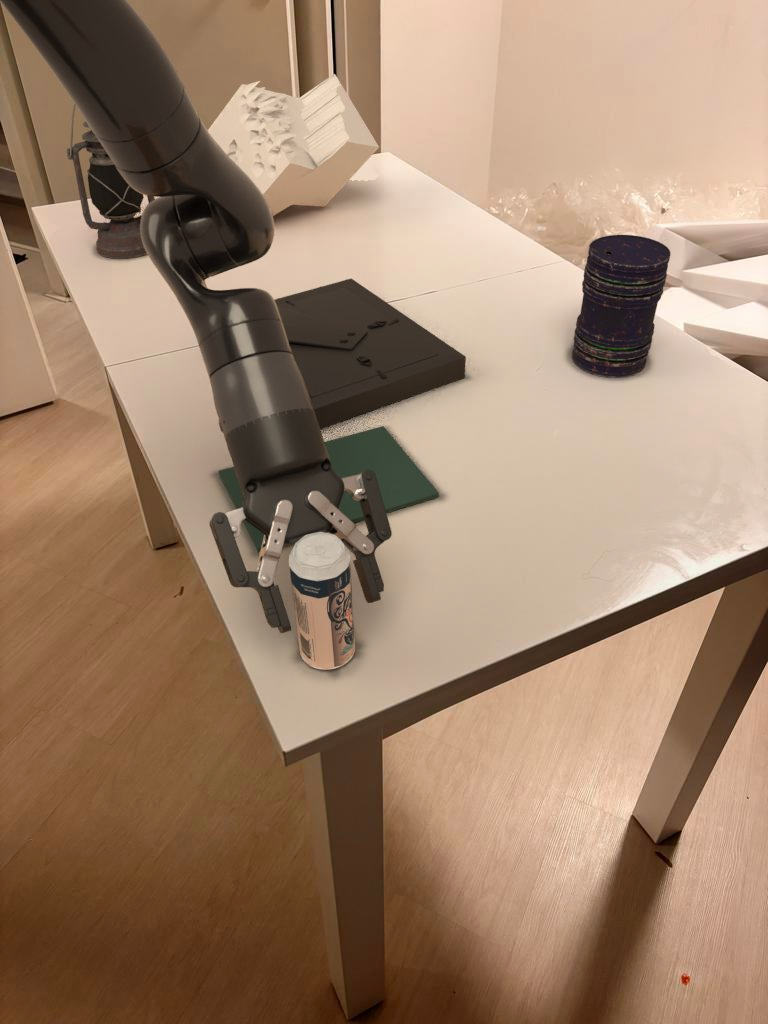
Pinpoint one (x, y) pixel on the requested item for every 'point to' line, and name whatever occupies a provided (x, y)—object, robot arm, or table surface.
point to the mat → (351, 458)
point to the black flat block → (361, 351)
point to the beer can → (323, 600)
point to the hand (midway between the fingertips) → (330, 615)
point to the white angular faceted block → (295, 142)
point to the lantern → (108, 200)
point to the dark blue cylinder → (619, 304)
